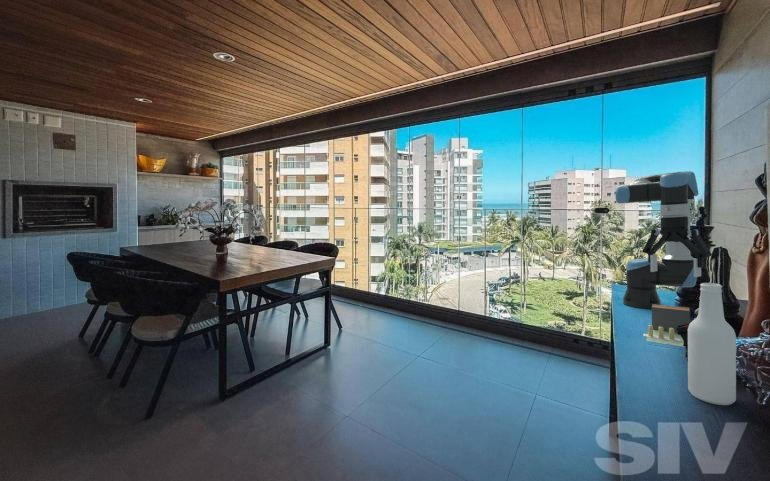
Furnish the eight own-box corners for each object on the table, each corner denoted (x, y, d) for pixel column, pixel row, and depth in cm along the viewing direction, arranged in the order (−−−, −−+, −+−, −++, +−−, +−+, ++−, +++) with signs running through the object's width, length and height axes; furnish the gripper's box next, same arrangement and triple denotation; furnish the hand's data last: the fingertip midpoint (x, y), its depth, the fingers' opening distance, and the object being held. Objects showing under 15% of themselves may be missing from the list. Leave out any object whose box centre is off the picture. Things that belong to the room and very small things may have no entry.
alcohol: (724, 390, 87) (724, 281, 85) (744, 409, 79) (744, 288, 77) (682, 385, 90) (681, 280, 88) (696, 402, 82) (696, 287, 80)
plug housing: (652, 325, 132) (652, 303, 131) (689, 330, 124) (689, 307, 124) (652, 329, 128) (651, 306, 127) (690, 334, 121) (689, 310, 120)
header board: (645, 327, 134) (645, 315, 133) (689, 333, 125) (689, 320, 124) (642, 343, 119) (641, 329, 119) (691, 351, 110) (691, 336, 110)
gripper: (630, 217, 128) (631, 270, 129) (711, 215, 104) (711, 280, 106) (643, 216, 130) (644, 268, 132) (725, 214, 107) (725, 277, 108)
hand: (674, 273), depth 119 cm, fingers open, 13 cm apart
